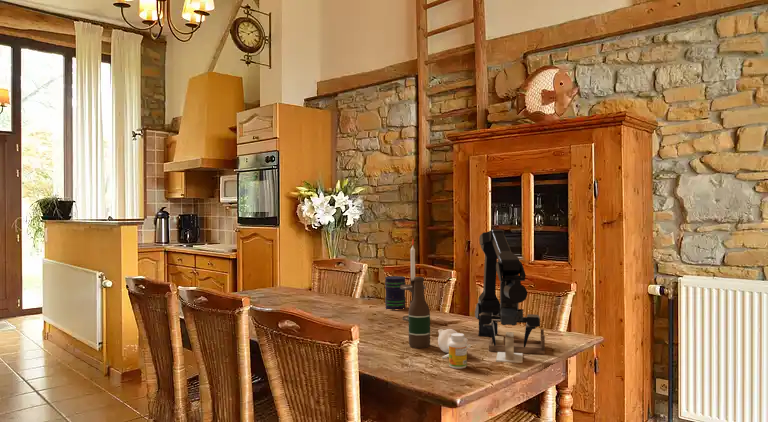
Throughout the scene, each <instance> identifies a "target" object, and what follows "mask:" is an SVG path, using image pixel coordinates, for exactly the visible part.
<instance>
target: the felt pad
mask: <svg viewBox="0 0 768 422" xmlns="http://www.w3.org/2000/svg"><path fill="white" fill-rule="evenodd" d="M523 354H524V353H515V352H514V358H513V360H505V352H497V355H496V357H495V358H496V360H495V361H496V362H500V363H504V362H505V363H516V364H518V363H521V364H523V361H524V360H523V358H524V356H523Z"/></svg>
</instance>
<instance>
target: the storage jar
mask: <svg viewBox="0 0 768 422" xmlns="http://www.w3.org/2000/svg"><path fill="white" fill-rule="evenodd" d="M384 279H385V280H384V289H385V298H384V303H385V308H386V309H385V310H387V309H403V308H406V305H407V304H406V302H407V301H406V299H407V298H406V290H403V289H401V288H400V286H401V285H407V283H406V276H402V275H401V276H400V275H391V276H390V275H389V276H385V278H384Z"/></svg>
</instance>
